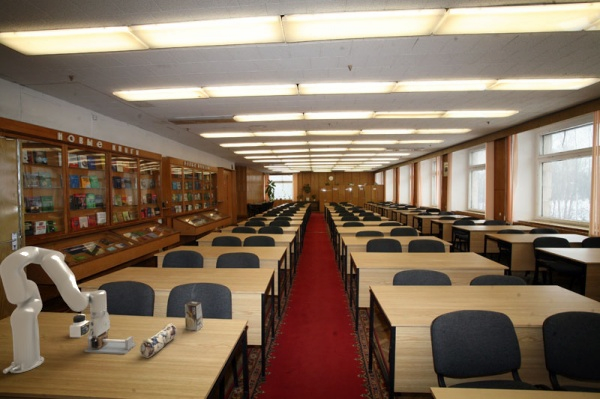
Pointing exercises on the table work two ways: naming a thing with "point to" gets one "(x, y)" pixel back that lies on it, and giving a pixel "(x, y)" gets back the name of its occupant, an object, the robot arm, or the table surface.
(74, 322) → the medicine bottle
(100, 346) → the keeper
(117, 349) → the rail
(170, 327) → the pencil case
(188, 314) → the coffee box
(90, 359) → the table surface
